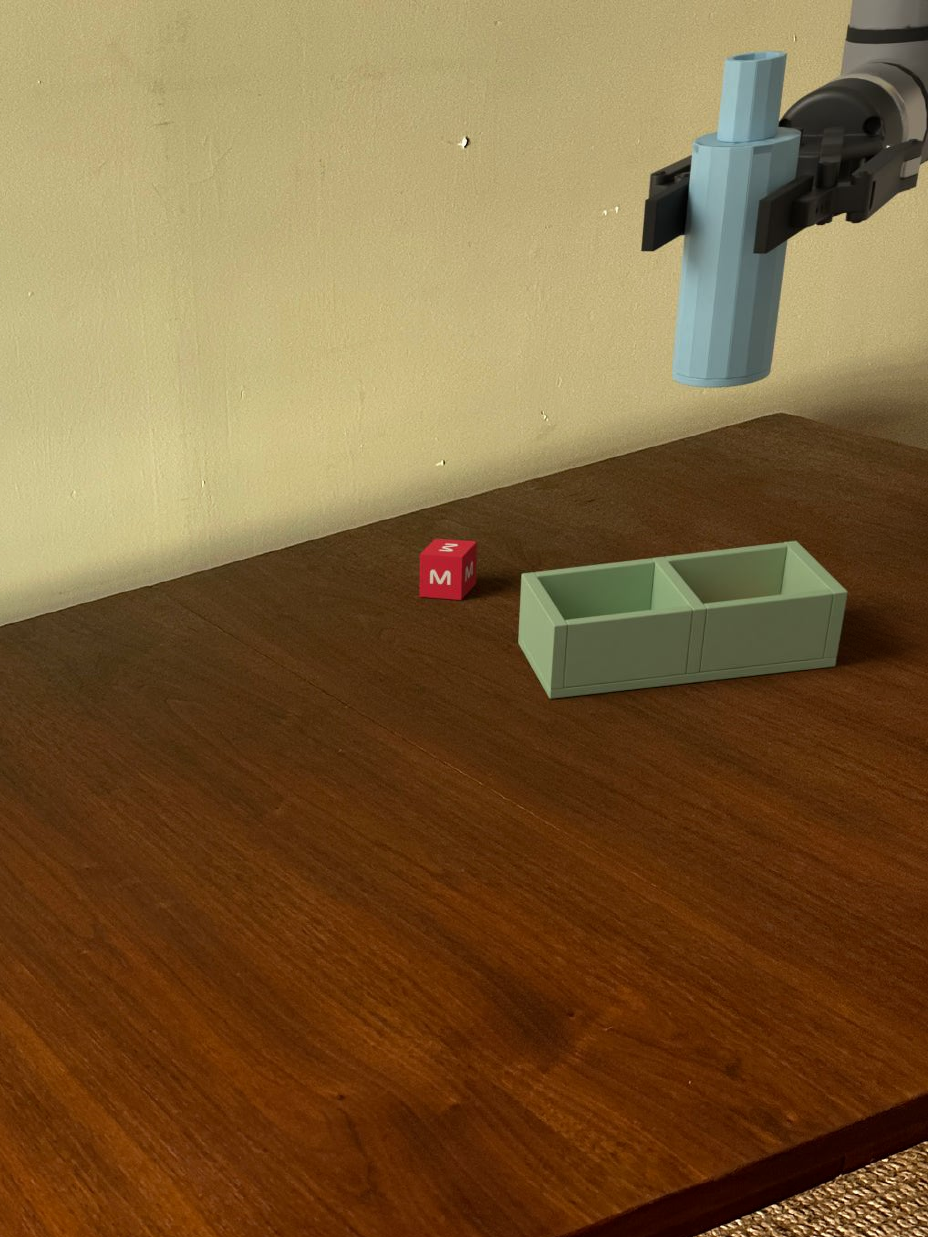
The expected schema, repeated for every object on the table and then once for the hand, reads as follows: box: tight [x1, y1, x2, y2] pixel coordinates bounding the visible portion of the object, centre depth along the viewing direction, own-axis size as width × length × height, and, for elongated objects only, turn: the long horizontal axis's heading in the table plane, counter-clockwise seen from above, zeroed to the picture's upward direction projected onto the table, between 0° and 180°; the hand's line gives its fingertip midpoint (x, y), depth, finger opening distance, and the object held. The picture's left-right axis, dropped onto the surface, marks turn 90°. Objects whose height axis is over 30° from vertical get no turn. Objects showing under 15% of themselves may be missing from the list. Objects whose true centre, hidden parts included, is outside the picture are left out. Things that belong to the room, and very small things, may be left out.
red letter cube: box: [419, 538, 478, 601], centre depth 121 cm, size 3×3×3 cm
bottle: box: [671, 50, 801, 389], centre depth 105 cm, size 6×6×17 cm
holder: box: [517, 540, 848, 700], centre depth 108 cm, size 17×9×5 cm, turn 90°
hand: (705, 226), depth 101 cm, fingers closed on bottle, 6 cm apart
